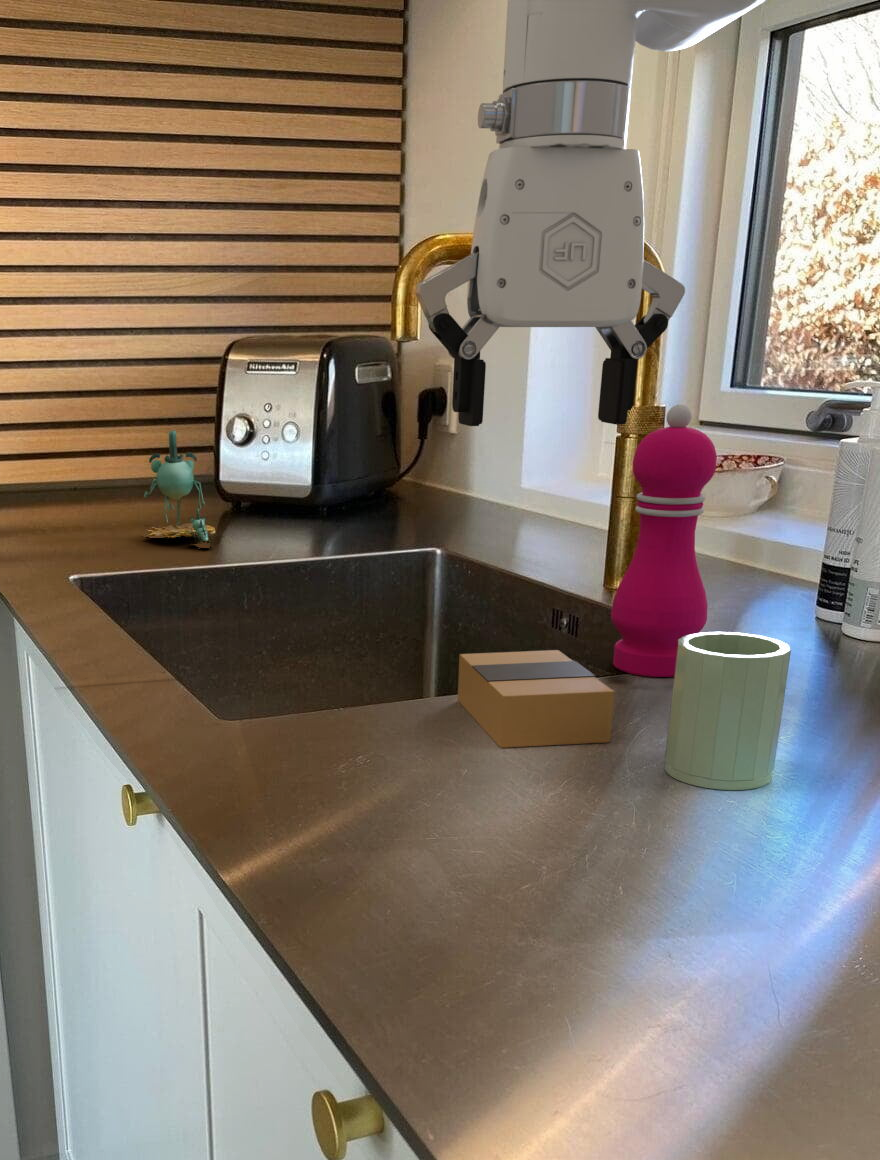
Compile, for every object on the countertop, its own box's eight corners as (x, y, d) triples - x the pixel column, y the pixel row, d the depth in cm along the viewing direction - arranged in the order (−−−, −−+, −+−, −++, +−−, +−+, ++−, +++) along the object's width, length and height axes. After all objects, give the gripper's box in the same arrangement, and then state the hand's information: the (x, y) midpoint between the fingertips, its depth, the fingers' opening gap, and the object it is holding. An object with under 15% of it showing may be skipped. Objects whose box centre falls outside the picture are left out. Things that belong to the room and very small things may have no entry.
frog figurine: (151, 554, 149) (141, 428, 145) (135, 547, 166) (125, 434, 162) (228, 549, 151) (220, 425, 147) (204, 543, 168) (196, 431, 164)
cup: (741, 753, 77) (758, 630, 74) (791, 787, 71) (811, 655, 69) (648, 758, 77) (661, 634, 74) (690, 792, 71) (706, 659, 68)
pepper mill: (660, 652, 101) (686, 400, 94) (720, 673, 95) (753, 405, 88) (588, 661, 99) (609, 403, 92) (645, 683, 92) (673, 408, 85)
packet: (457, 700, 89) (459, 653, 88) (555, 695, 90) (558, 648, 88) (500, 748, 79) (503, 695, 78) (610, 742, 80) (615, 690, 78)
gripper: (440, 113, 68) (427, 429, 75) (728, 120, 71) (692, 426, 77) (408, 133, 75) (398, 421, 82) (671, 139, 78) (642, 418, 84)
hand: (541, 423), depth 79 cm, fingers open, 9 cm apart
